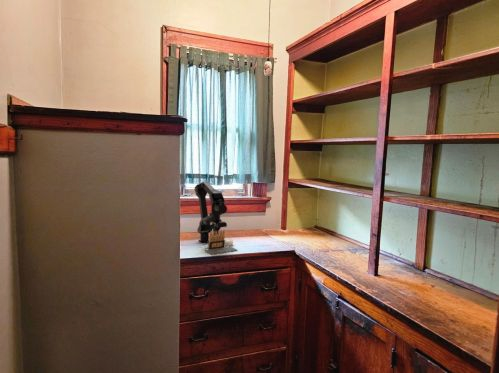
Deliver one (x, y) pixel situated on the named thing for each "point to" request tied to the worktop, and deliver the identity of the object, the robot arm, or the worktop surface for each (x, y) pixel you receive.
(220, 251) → the mat
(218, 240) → the ammunition clip
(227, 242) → the white small block
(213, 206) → the robot arm
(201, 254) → the worktop surface
